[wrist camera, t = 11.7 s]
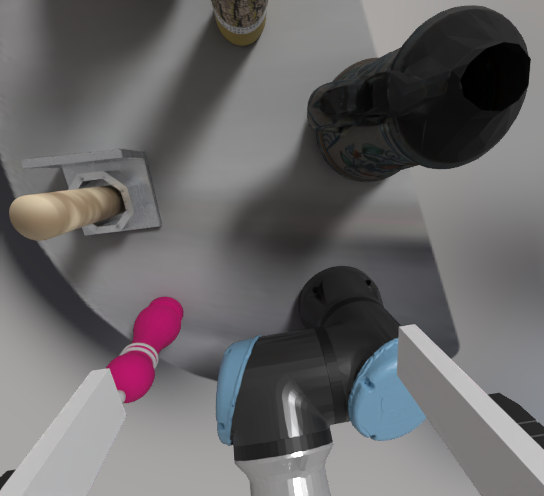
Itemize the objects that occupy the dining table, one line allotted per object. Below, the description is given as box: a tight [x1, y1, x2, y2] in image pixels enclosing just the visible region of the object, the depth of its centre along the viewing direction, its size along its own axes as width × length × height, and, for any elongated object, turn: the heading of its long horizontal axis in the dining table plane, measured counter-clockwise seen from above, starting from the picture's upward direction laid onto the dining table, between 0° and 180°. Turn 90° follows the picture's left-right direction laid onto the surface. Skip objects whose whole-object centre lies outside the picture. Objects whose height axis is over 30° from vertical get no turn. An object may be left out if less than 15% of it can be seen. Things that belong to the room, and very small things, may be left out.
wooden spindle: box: [9, 185, 126, 241], centre depth 34 cm, size 4×4×16 cm
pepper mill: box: [106, 297, 183, 404], centre depth 40 cm, size 7×7×20 cm
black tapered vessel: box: [307, 6, 531, 182], centre depth 30 cm, size 16×19×25 cm
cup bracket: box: [21, 149, 162, 235], centre depth 38 cm, size 12×12×8 cm
